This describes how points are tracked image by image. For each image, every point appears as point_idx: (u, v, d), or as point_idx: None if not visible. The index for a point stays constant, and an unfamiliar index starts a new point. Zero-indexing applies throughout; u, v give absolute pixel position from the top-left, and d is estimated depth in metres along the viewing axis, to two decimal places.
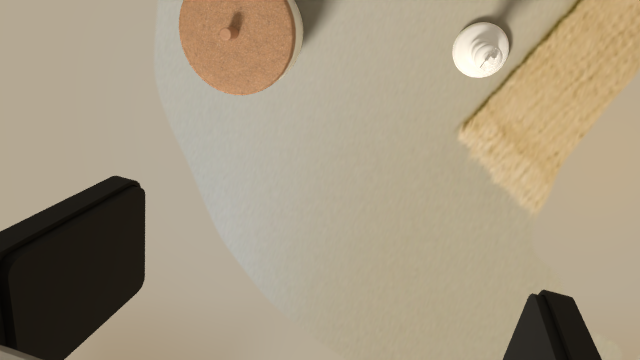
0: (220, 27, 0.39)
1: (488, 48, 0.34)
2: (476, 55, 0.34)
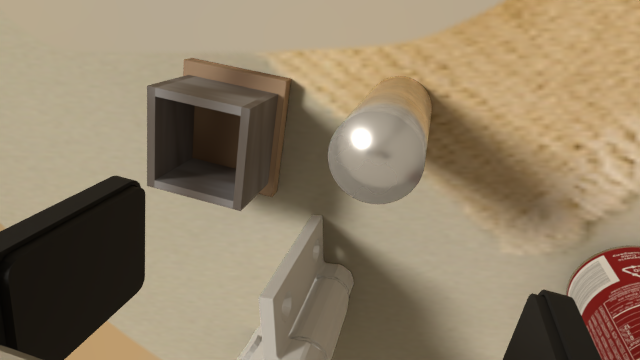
0: None
1: None
2: None
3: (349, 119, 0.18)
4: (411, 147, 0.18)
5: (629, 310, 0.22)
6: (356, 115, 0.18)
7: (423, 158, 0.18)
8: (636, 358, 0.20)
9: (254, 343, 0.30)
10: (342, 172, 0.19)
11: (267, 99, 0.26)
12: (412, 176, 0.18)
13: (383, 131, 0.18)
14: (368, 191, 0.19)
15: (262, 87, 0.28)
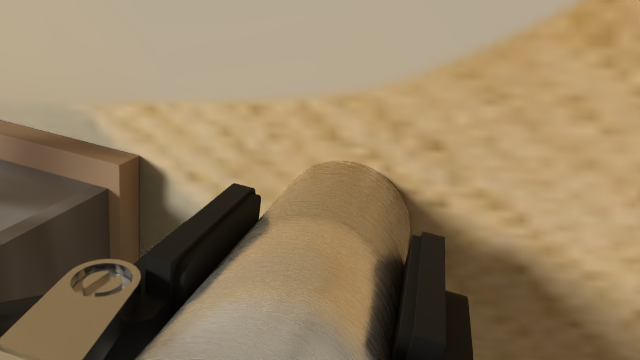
0: None
1: None
2: None
3: None
4: None
5: None
6: None
7: None
8: None
9: None
10: None
11: (63, 211, 0.13)
12: None
13: None
14: None
15: (78, 174, 0.14)
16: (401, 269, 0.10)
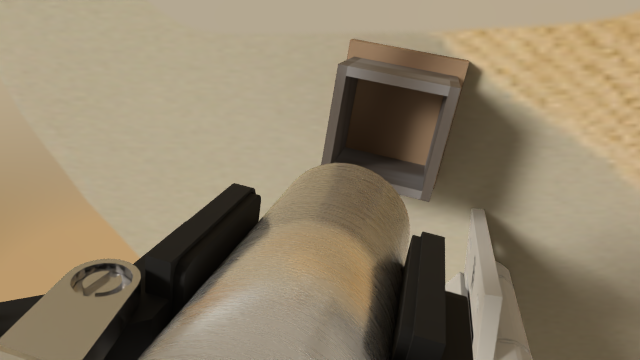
0: None
1: None
2: None
3: None
4: None
5: None
6: None
7: None
8: None
9: None
10: None
11: (457, 80, 0.24)
12: None
13: None
14: None
15: (440, 69, 0.26)
16: (400, 271, 0.10)
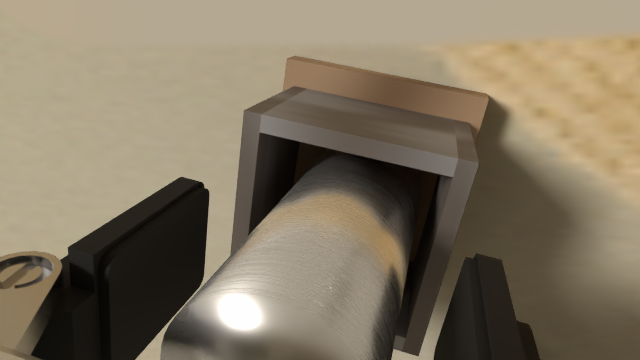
0: None
1: None
2: None
3: (197, 303, 0.07)
4: None
5: None
6: (211, 297, 0.07)
7: None
8: None
9: None
10: None
11: (470, 135, 0.13)
12: None
13: (277, 339, 0.07)
14: None
15: (438, 109, 0.15)
16: (414, 213, 0.13)
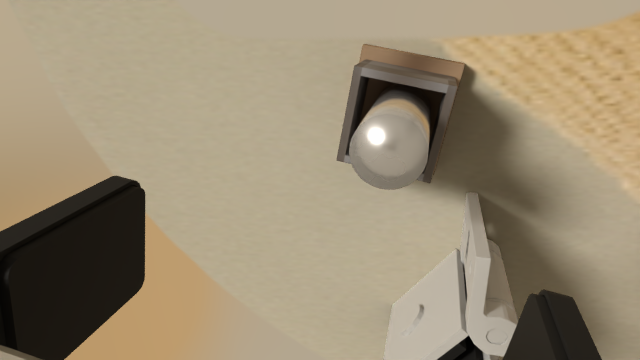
0: None
1: None
2: None
3: (368, 120, 0.22)
4: (417, 143, 0.22)
5: None
6: (374, 117, 0.22)
7: (427, 152, 0.22)
8: None
9: (419, 311, 0.32)
10: (360, 163, 0.23)
11: (454, 80, 0.29)
12: (417, 167, 0.23)
13: (395, 130, 0.22)
14: (381, 179, 0.23)
15: (439, 70, 0.30)
16: None
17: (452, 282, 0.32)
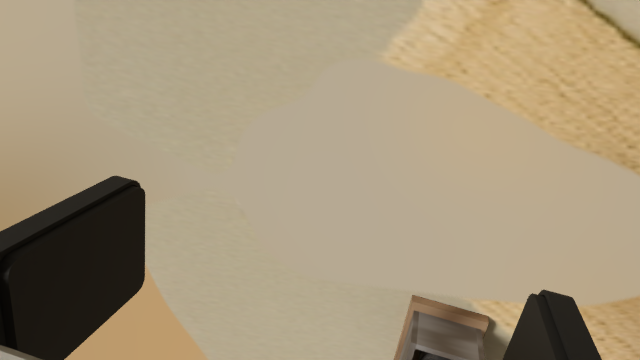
0: None
1: None
2: None
3: None
4: None
5: None
6: None
7: None
8: None
9: None
10: None
11: (482, 342, 0.39)
12: None
13: None
14: None
15: (469, 324, 0.41)
16: None
17: None
